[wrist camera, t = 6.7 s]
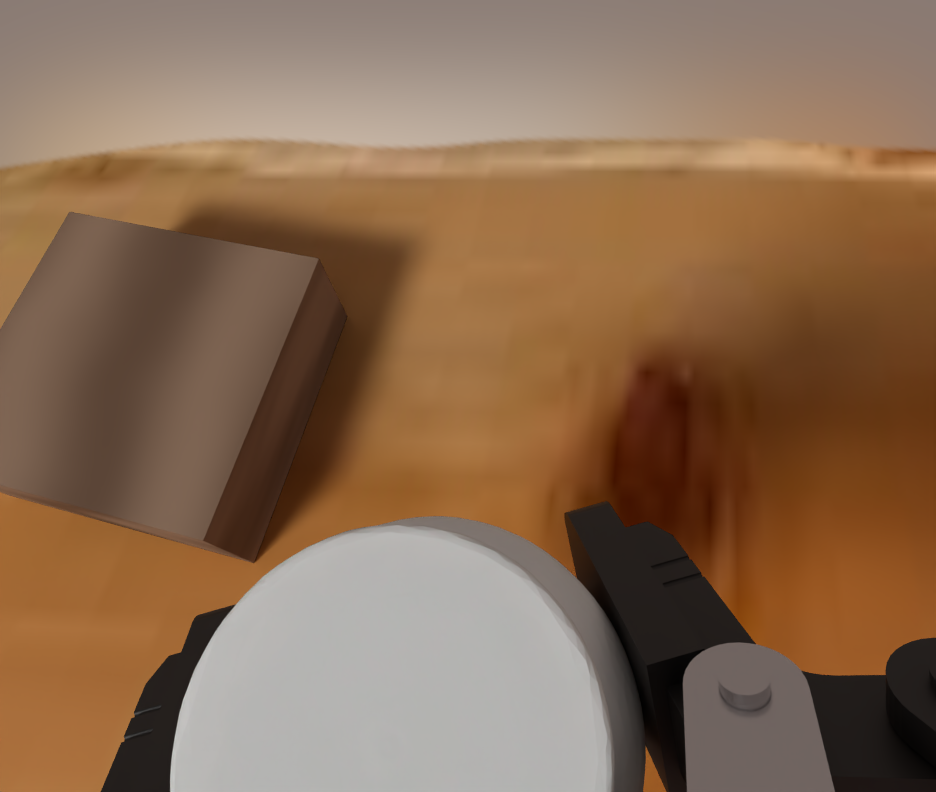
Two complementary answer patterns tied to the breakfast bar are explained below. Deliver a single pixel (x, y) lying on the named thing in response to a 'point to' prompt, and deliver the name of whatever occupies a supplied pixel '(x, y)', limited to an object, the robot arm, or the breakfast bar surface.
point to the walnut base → (163, 380)
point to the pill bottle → (413, 673)
